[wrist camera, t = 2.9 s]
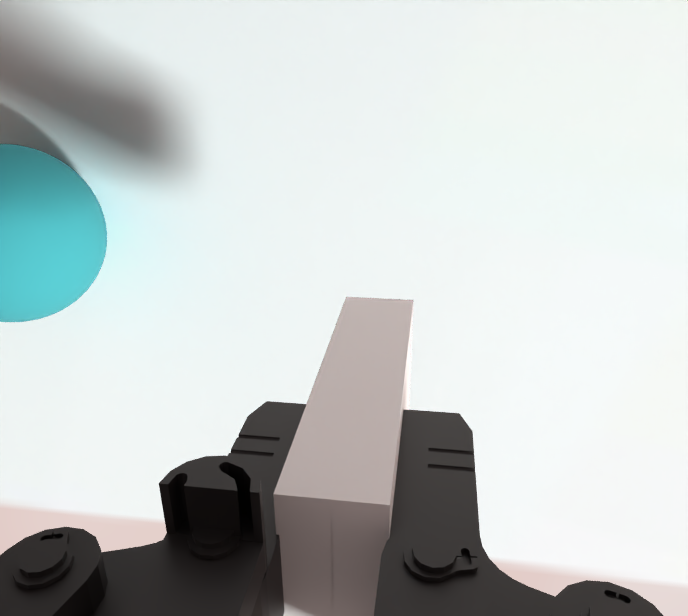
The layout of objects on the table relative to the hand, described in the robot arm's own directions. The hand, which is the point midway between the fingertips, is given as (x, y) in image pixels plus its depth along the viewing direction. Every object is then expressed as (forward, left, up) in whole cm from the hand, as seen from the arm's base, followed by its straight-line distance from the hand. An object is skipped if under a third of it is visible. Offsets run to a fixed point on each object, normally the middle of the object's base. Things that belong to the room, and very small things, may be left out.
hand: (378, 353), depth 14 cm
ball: (0, -13, -6) cm, 14 cm away
